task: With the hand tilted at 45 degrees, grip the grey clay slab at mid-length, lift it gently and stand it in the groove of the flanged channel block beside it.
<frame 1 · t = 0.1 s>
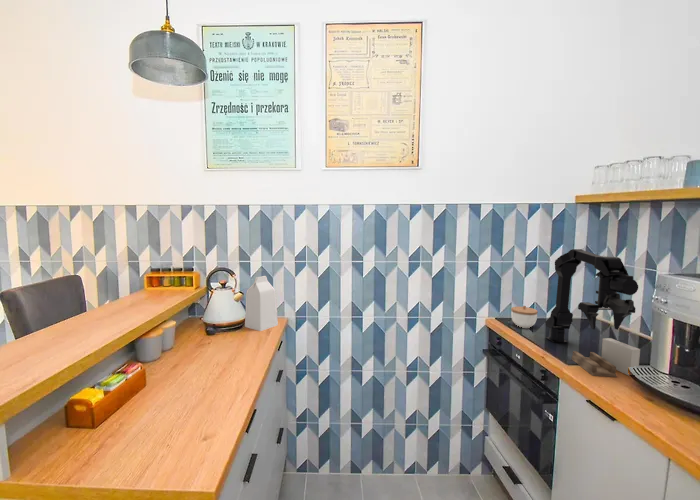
hand: (604, 329, 134), 15 cm above the counter, tool pointing down, fingers open, 9 cm apart
milk: (261, 326, 181), on the counter
clay slab: (618, 369, 133), on the counter
lidded bowl: (523, 326, 185), on the counter
flanged channel block: (592, 367, 134), on the counter
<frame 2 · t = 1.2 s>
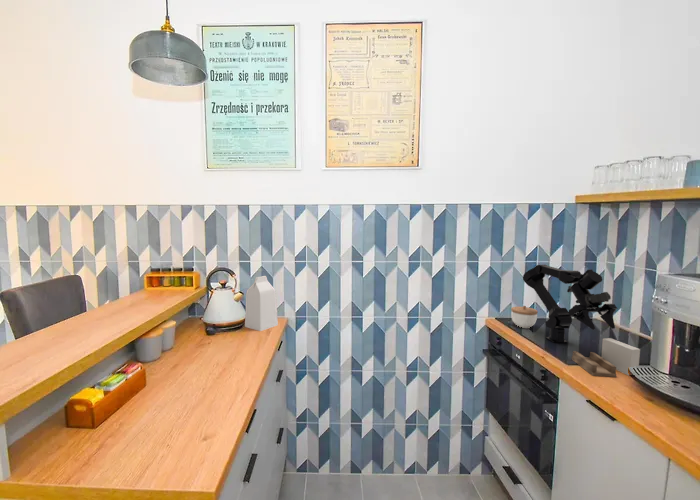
hand: (604, 328, 139), 13 cm above the counter, tool tilted 45°, fingers open, 9 cm apart
nothing on the counter moved.
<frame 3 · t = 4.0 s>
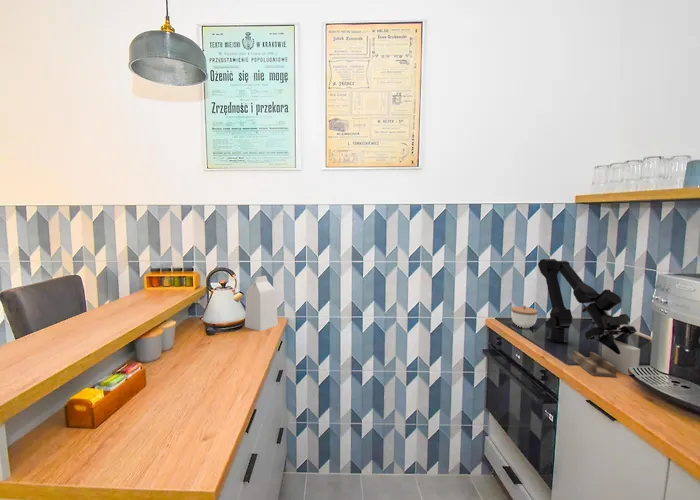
hand: (623, 353, 131), 7 cm above the counter, tool tilted 45°, fingers closed on clay slab, 3 cm apart
clay slab: (618, 368, 133), on the counter, touching gripper
everything else where it was.
when the fingers open (9 cm above the counter, at t = 8.0 s): clay slab drops 1 cm, resting on flanged channel block.
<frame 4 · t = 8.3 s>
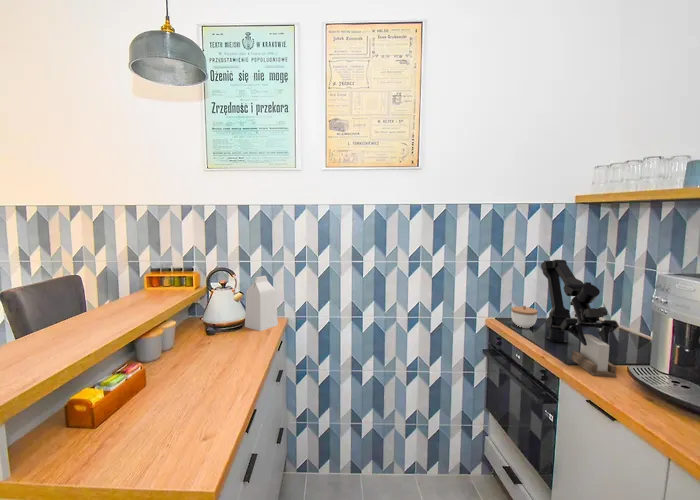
hand: (596, 345, 131), 9 cm above the counter, tool tilted 45°, fingers open, 7 cm apart
clay slab: (592, 364, 133), point 1 cm above the counter, touching flanged channel block
everything else where it was.
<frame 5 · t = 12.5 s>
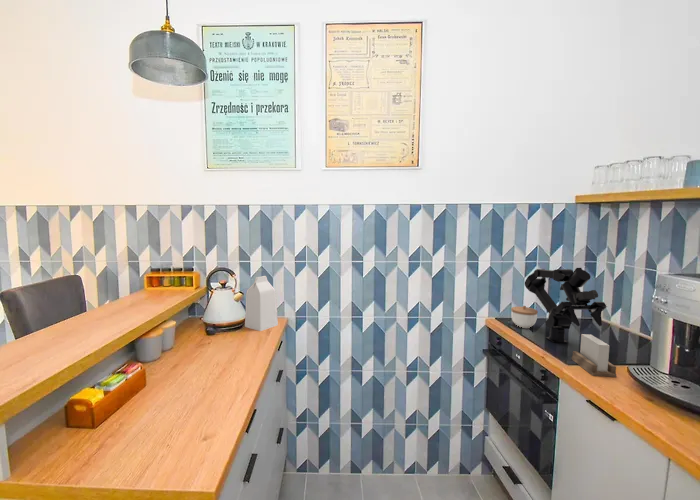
hand: (589, 325, 142), 14 cm above the counter, tool tilted 45°, fingers open, 9 cm apart
nothing on the counter moved.
at the end: clay slab 0.0 cm off-centre on the flanged channel block, point 1.2 cm above the flanged channel block's base; clay slab tilted 0°; the gripper is holding nothing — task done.
